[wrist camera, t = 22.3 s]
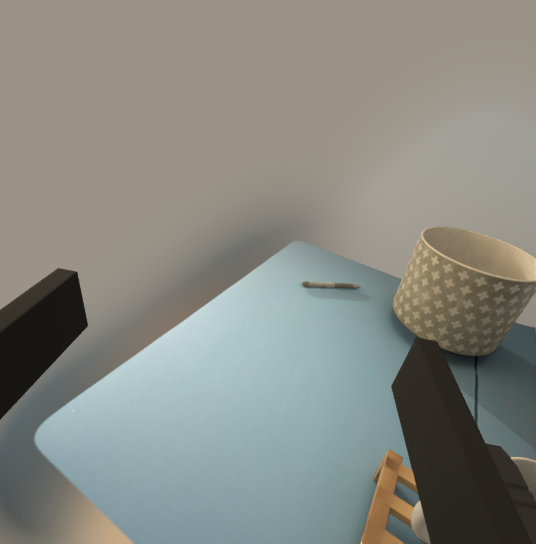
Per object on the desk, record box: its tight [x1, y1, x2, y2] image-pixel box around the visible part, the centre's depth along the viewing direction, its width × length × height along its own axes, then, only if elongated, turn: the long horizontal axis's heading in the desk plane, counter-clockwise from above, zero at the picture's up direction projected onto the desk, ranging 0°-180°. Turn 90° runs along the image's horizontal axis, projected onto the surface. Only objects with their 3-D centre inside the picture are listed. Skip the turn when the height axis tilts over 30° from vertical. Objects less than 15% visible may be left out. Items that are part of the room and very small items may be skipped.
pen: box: [301, 282, 361, 288], centre depth 71 cm, size 1×14×1 cm, turn 96°
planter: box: [393, 226, 536, 356], centre depth 58 cm, size 19×19×18 cm
